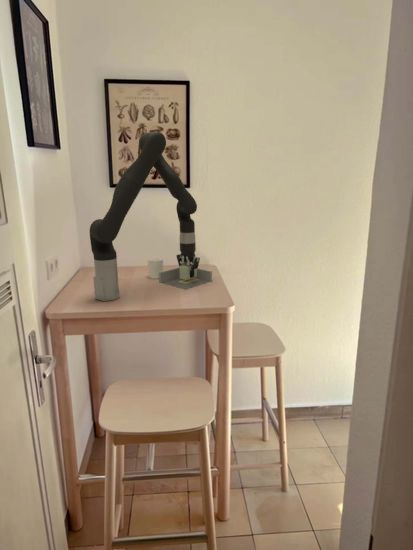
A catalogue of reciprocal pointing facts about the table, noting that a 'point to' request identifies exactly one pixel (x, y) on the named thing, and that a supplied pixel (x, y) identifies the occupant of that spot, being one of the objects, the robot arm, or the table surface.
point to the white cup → (155, 267)
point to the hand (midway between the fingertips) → (188, 276)
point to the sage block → (186, 272)
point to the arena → (173, 279)
